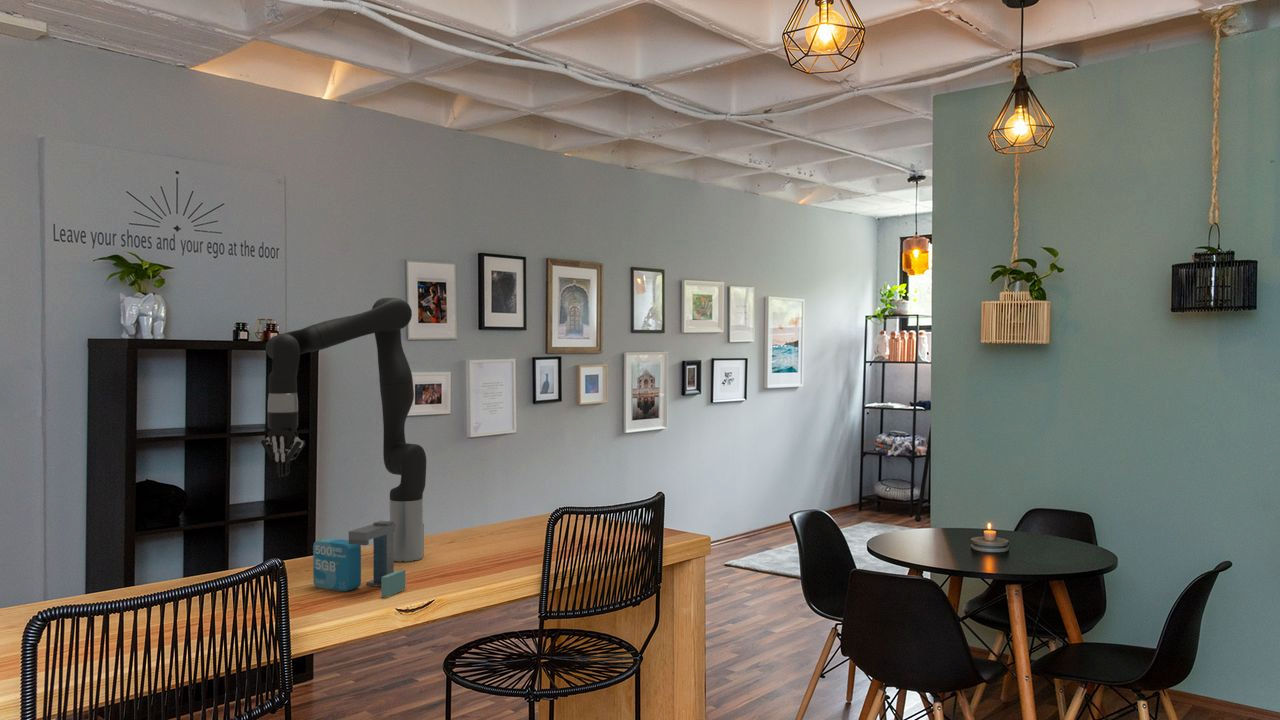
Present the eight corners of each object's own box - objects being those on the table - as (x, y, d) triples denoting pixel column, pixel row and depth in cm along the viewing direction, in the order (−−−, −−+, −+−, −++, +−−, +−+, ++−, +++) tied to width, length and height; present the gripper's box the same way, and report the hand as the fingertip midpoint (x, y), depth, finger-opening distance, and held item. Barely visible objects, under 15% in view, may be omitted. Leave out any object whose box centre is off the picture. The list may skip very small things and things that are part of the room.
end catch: (400, 589, 236) (400, 569, 236) (405, 589, 235) (405, 570, 235) (381, 597, 228) (381, 576, 228) (386, 597, 228) (386, 577, 228)
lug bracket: (380, 579, 245) (380, 519, 245) (403, 582, 243) (403, 520, 243) (345, 593, 232) (345, 529, 231) (369, 596, 229) (369, 531, 229)
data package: (312, 587, 238) (312, 540, 238) (326, 583, 242) (325, 537, 242) (348, 592, 233) (348, 544, 232) (361, 588, 237) (361, 541, 236)
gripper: (313, 410, 248) (313, 475, 249) (272, 408, 253) (272, 472, 253) (294, 411, 241) (294, 478, 242) (252, 410, 246) (252, 476, 246)
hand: (283, 475), depth 247 cm, fingers closed
